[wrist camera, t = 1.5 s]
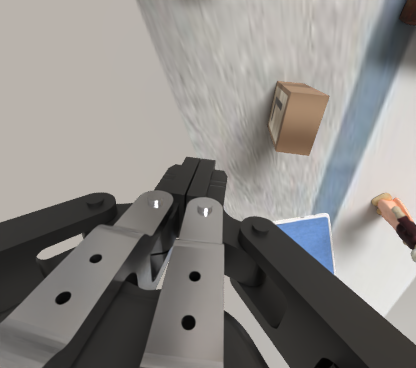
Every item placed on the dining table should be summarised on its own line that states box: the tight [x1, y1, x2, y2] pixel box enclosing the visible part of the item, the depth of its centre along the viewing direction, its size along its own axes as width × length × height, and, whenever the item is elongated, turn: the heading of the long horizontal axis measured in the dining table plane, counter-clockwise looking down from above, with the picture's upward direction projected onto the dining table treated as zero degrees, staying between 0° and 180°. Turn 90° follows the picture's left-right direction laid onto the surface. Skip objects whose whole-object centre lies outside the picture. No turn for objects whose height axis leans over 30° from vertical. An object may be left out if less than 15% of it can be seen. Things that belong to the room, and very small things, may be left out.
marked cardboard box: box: [268, 81, 329, 156], centre depth 26 cm, size 6×4×10 cm, turn 175°
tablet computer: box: [272, 213, 336, 276], centre depth 44 cm, size 19×13×1 cm, turn 19°
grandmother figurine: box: [372, 193, 416, 262], centre depth 30 cm, size 8×4×13 cm, turn 46°
